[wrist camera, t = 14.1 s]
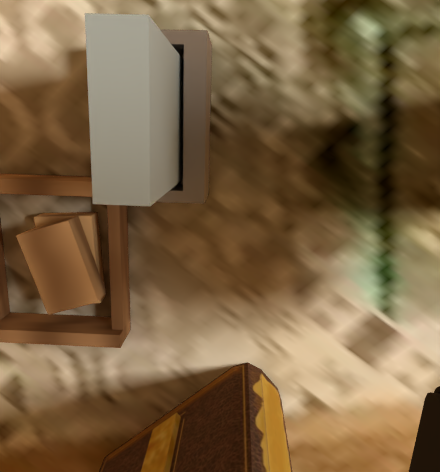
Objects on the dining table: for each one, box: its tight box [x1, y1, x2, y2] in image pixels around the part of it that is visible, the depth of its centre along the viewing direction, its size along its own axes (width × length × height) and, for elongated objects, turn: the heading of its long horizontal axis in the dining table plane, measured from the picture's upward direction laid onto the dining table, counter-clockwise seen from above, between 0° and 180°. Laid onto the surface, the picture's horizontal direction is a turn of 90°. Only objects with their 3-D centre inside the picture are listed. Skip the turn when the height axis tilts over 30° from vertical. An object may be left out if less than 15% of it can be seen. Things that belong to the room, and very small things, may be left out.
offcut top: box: [16, 216, 106, 315], centre depth 36 cm, size 5×7×2 cm, turn 16°
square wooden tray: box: [0, 174, 130, 348], centre depth 37 cm, size 13×14×4 cm
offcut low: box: [34, 212, 106, 303], centre depth 38 cm, size 5×8×2 cm, turn 2°
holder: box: [156, 30, 212, 204], centre depth 33 cm, size 7×12×5 cm, turn 179°
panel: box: [85, 13, 184, 206], centre depth 27 cm, size 3×9×14 cm, turn 178°
